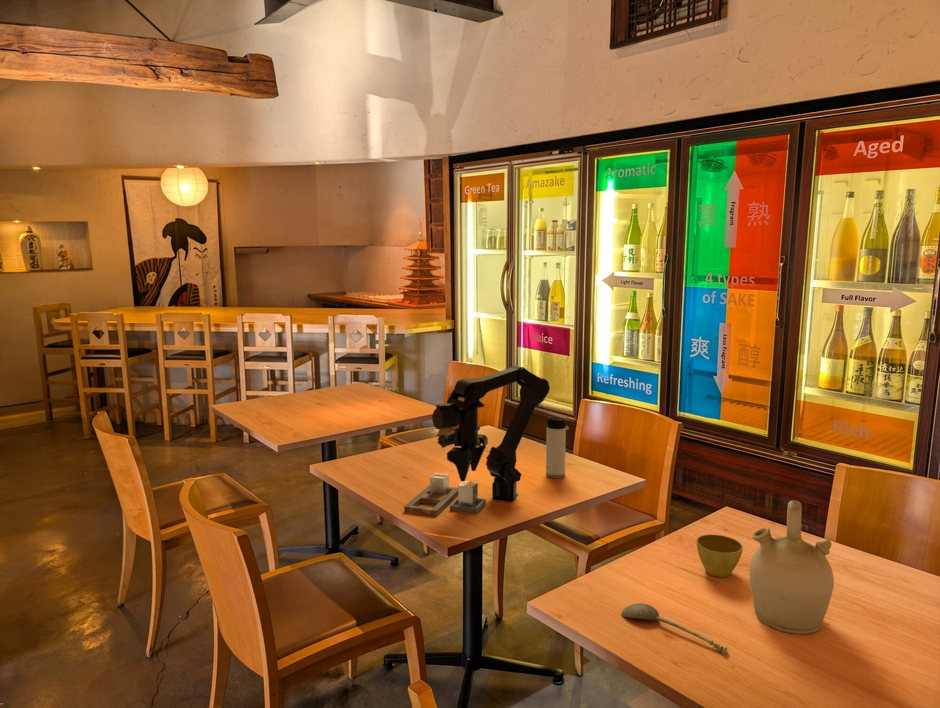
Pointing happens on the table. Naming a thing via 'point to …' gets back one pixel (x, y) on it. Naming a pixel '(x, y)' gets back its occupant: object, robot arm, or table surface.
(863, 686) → the table surface
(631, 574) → the table surface
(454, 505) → the grey tray
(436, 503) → the grey flat frame
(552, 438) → the travel mug
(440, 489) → the block
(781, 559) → the jug
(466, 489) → the block
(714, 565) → the flower pot
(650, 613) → the soupspoon
